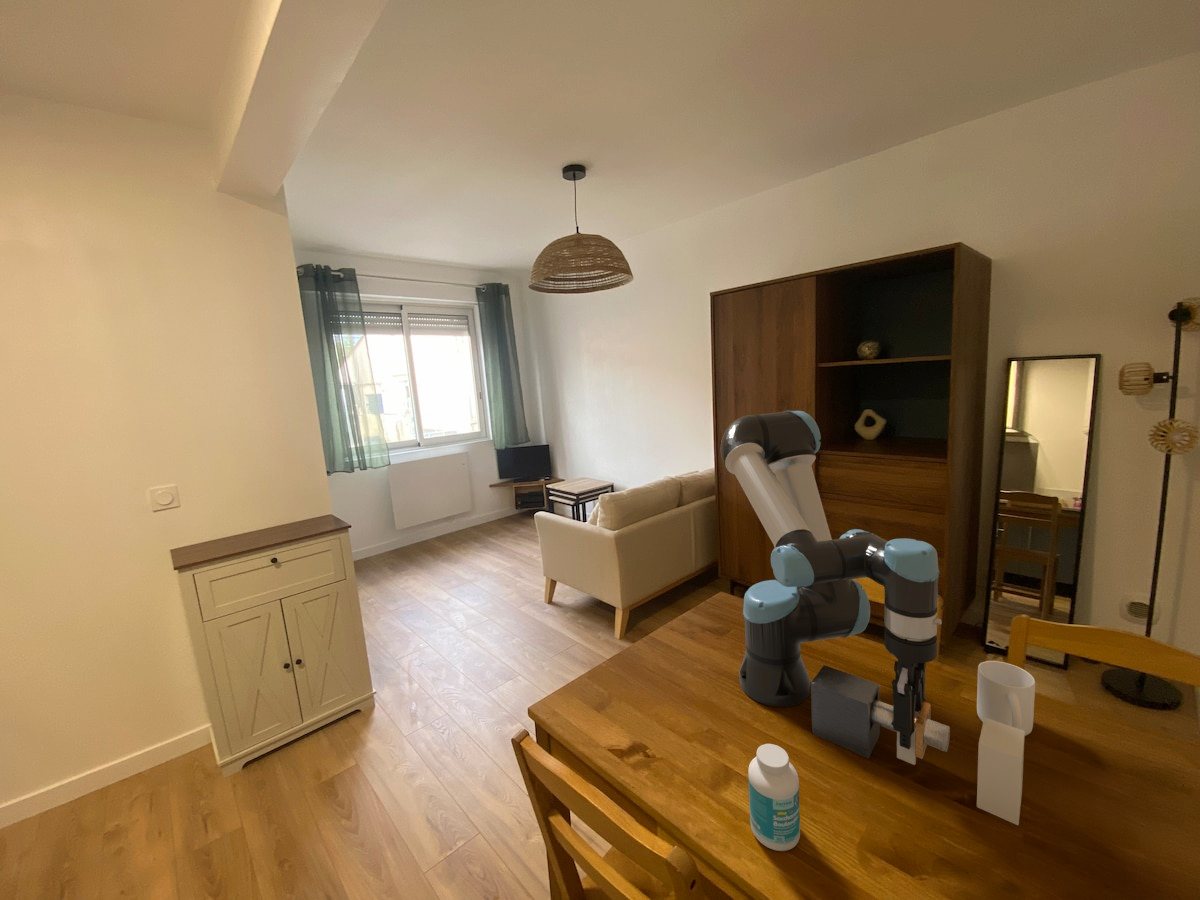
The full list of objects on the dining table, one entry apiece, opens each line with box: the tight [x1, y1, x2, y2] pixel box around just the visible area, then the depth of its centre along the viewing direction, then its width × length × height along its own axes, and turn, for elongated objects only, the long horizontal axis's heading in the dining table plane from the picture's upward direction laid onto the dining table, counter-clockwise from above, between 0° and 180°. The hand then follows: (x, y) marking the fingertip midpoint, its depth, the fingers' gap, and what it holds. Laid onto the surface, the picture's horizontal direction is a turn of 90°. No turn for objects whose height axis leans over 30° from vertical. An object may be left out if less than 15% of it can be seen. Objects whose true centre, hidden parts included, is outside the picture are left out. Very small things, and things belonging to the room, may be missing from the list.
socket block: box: [976, 717, 1026, 826], centre depth 75 cm, size 5×7×12 cm
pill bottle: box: [747, 743, 801, 852], centre depth 74 cm, size 8×7×14 cm
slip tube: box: [870, 699, 951, 760], centre depth 87 cm, size 20×6×6 cm, turn 46°
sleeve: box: [810, 665, 880, 759], centre depth 91 cm, size 10×7×11 cm
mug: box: [976, 660, 1036, 736], centre depth 89 cm, size 12×8×10 cm
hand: (909, 751), depth 84 cm, fingers closed on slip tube, 4 cm apart
